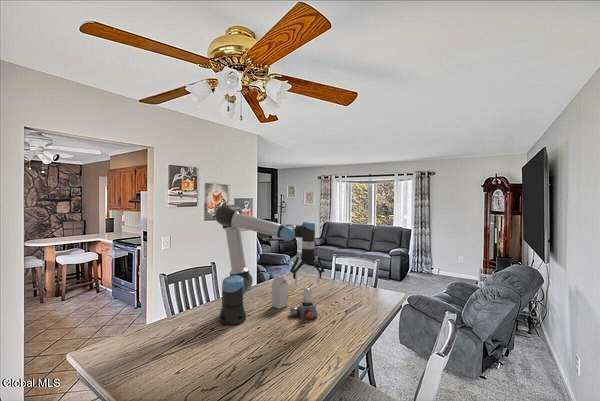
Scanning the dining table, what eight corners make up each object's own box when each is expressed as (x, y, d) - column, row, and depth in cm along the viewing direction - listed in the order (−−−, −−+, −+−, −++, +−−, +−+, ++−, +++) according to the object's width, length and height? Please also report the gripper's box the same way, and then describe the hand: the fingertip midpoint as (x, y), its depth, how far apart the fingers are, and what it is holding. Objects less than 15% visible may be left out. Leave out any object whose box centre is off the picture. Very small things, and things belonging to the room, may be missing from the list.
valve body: (292, 321, 160) (292, 309, 160) (289, 312, 172) (289, 302, 172) (318, 319, 162) (318, 308, 162) (314, 311, 174) (314, 300, 174)
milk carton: (279, 309, 177) (280, 278, 177) (271, 306, 181) (271, 276, 181) (287, 305, 183) (287, 276, 183) (278, 303, 187) (279, 274, 187)
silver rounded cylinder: (304, 310, 166) (304, 290, 166) (302, 307, 171) (303, 287, 171) (312, 310, 167) (312, 289, 167) (310, 307, 171) (310, 287, 171)
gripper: (287, 249, 163) (286, 286, 163) (330, 249, 167) (329, 285, 167) (286, 247, 170) (285, 282, 170) (327, 247, 174) (325, 281, 175)
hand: (306, 284), depth 169 cm, fingers open, 13 cm apart
